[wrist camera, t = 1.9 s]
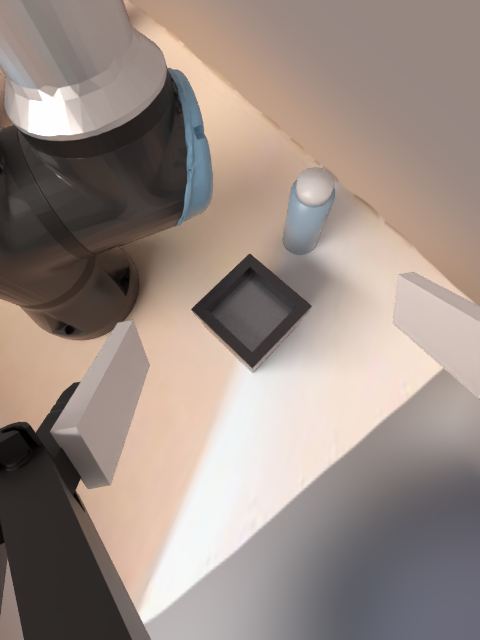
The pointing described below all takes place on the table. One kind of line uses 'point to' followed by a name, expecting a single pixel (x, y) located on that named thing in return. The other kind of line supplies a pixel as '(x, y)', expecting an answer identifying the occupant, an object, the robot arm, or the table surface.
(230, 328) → the square planter pot
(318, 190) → the white-capped blue bottle
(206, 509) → the table surface
